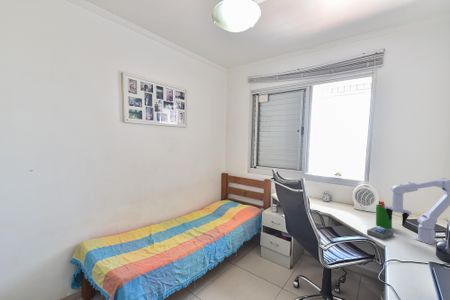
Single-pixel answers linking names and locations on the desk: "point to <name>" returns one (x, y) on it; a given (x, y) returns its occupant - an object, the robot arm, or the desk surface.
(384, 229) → the servo
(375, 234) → the chassis
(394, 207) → the robot arm
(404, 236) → the desk surface
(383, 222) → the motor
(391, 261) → the desk surface
